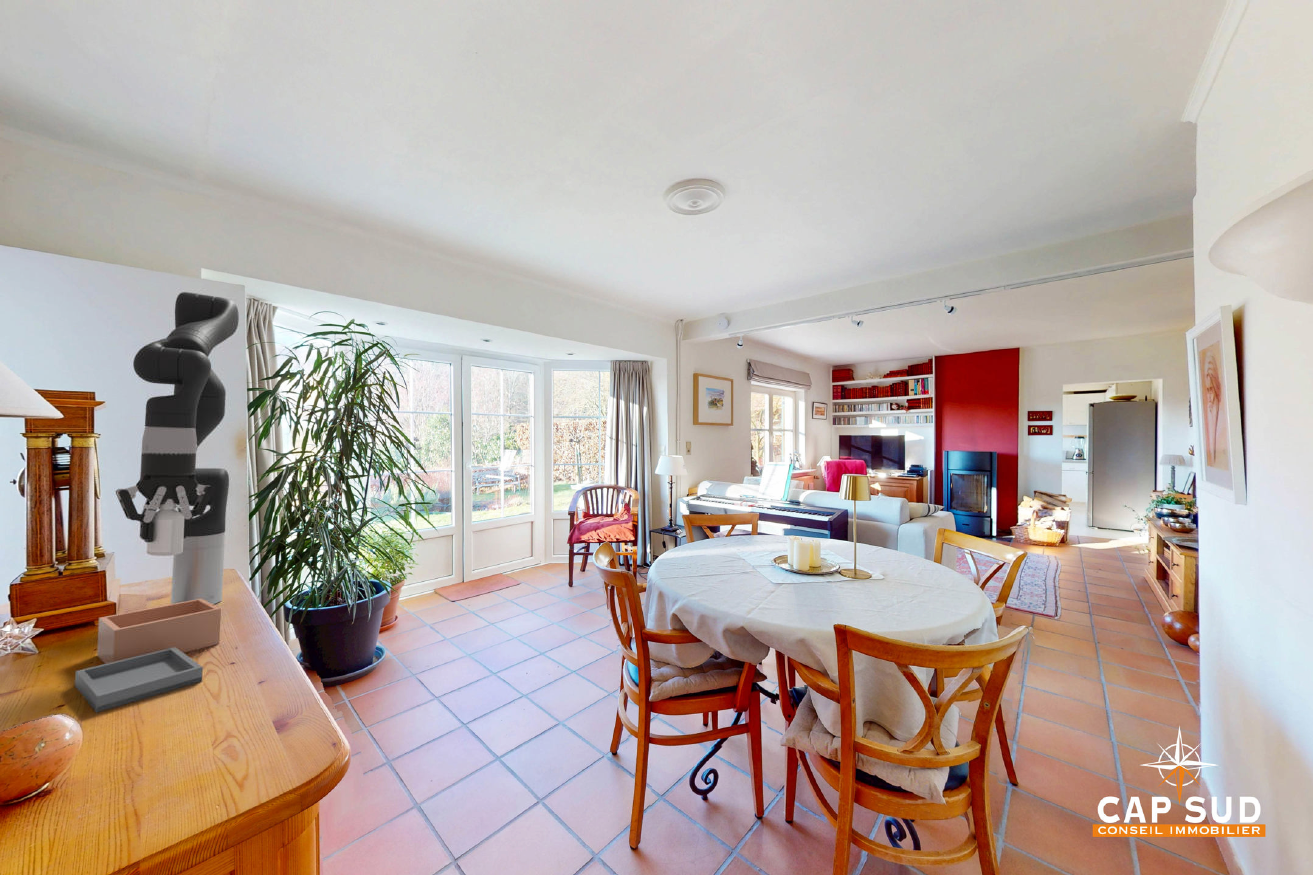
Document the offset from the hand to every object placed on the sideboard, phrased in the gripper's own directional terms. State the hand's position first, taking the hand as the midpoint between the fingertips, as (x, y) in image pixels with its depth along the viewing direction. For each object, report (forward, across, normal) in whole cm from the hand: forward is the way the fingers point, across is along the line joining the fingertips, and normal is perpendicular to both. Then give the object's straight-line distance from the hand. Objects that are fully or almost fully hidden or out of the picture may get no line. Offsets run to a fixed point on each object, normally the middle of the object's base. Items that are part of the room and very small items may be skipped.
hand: (165, 539), depth 95 cm
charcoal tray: (+21, +6, +14) cm, 26 cm away
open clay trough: (+21, 0, -1) cm, 21 cm away
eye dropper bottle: (+3, 0, 0) cm, 3 cm away
